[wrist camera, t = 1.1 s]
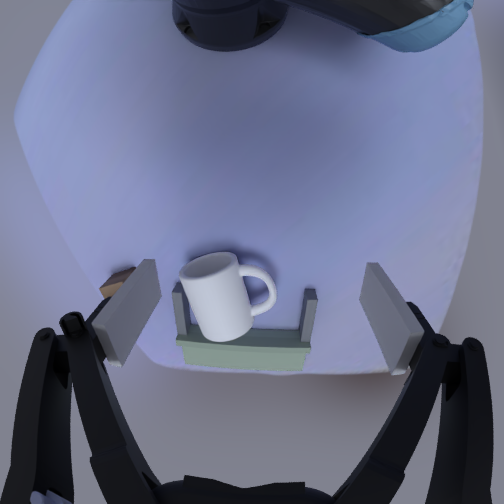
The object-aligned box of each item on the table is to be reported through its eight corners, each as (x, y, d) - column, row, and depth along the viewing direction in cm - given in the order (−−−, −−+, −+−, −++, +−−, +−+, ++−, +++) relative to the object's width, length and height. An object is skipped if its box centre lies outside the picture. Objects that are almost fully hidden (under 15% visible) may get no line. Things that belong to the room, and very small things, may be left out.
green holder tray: (177, 282, 41) (168, 297, 37) (314, 289, 40) (319, 305, 36) (187, 356, 47) (182, 373, 43) (301, 363, 46) (303, 380, 42)
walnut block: (113, 273, 41) (99, 288, 37) (135, 266, 40) (121, 281, 36) (126, 298, 43) (114, 315, 38) (149, 292, 42) (137, 309, 38)
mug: (207, 313, 43) (197, 345, 36) (187, 257, 39) (170, 284, 32) (281, 300, 41) (283, 333, 34) (267, 240, 38) (267, 265, 30)
